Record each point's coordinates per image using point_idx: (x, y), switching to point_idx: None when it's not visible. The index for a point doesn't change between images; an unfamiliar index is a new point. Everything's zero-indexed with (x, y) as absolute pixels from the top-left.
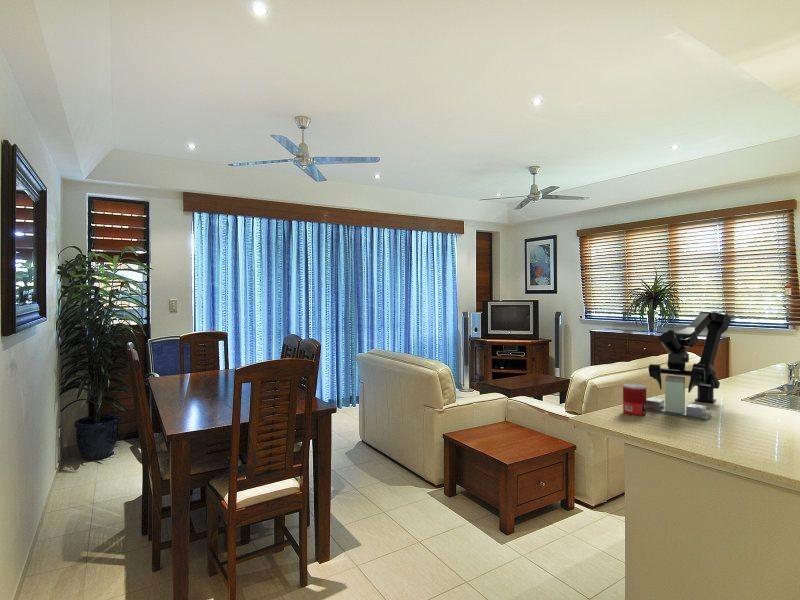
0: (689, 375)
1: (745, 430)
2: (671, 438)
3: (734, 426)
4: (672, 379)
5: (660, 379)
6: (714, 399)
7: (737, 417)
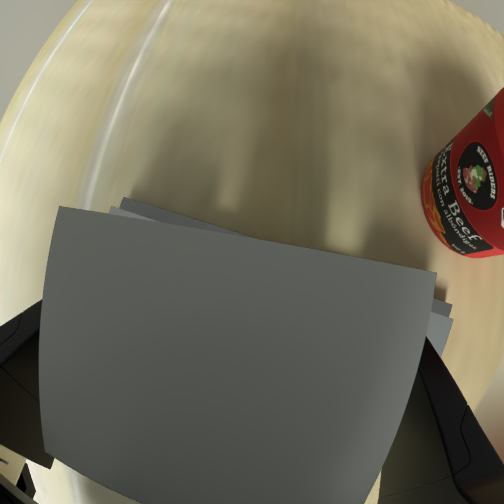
0: (8, 482)
1: (50, 137)
2: None
3: (59, 171)
4: (268, 245)
5: (445, 419)
6: None
7: None
